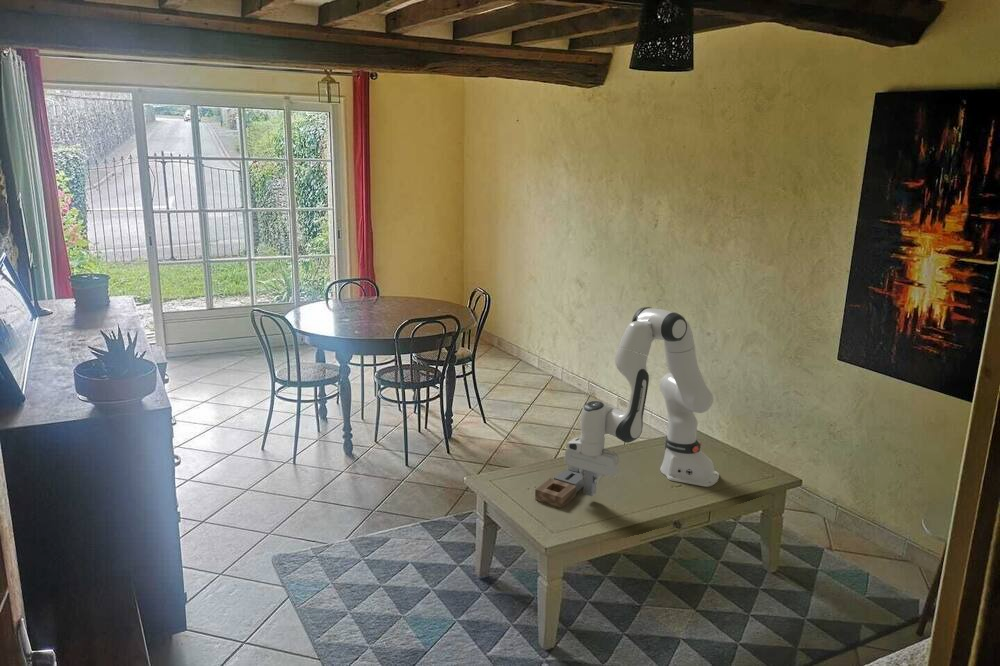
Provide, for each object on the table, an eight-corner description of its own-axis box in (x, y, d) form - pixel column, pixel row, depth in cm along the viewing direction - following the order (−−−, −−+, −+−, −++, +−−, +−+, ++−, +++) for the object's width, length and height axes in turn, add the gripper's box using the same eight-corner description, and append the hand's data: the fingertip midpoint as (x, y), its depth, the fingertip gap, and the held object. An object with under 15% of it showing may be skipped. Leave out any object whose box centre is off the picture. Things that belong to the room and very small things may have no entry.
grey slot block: (585, 484, 272) (586, 475, 270) (574, 494, 264) (575, 484, 263) (564, 478, 276) (565, 469, 275) (553, 487, 269) (553, 477, 268)
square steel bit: (595, 492, 259) (597, 467, 257) (591, 496, 257) (593, 471, 254) (587, 490, 261) (588, 465, 259) (583, 493, 258) (584, 468, 256)
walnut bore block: (575, 495, 263) (576, 485, 262) (561, 507, 254) (562, 497, 253) (549, 487, 269) (550, 478, 268) (535, 499, 260) (535, 489, 259)
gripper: (622, 450, 251) (620, 485, 255) (570, 436, 262) (569, 471, 266) (615, 456, 246) (613, 492, 250) (562, 442, 257) (561, 477, 260)
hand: (590, 481), depth 258 cm, fingers closed on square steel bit, 3 cm apart
